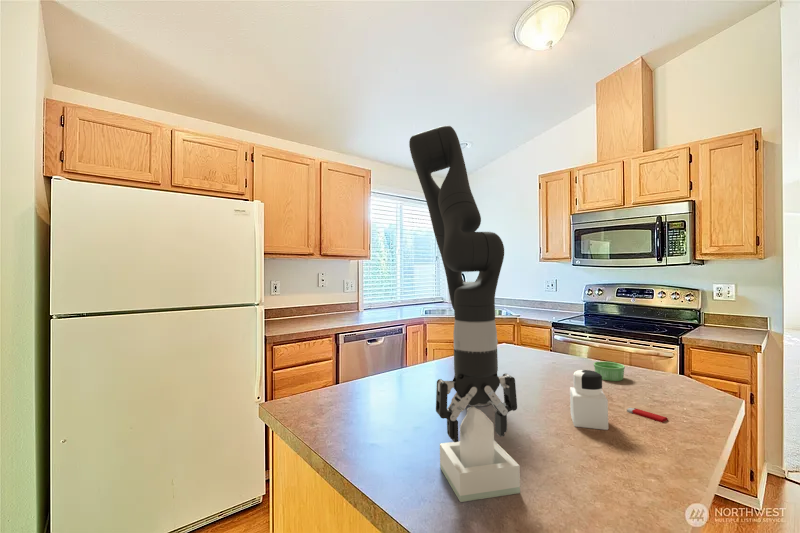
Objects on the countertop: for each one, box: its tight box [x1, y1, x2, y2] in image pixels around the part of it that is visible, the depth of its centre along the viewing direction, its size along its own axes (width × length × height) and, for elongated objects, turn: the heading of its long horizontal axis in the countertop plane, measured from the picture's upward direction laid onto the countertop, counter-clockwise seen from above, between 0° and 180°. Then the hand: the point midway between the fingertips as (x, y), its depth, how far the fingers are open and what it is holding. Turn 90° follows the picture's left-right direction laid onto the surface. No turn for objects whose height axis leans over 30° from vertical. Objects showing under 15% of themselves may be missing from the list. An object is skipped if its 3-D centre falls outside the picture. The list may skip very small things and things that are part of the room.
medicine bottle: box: [569, 369, 609, 431], centre depth 87 cm, size 7×7×12 cm
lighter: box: [626, 407, 668, 423], centre depth 90 cm, size 3×1×8 cm
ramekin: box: [593, 360, 625, 382], centre depth 122 cm, size 9×9×4 cm
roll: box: [459, 406, 495, 468], centre depth 65 cm, size 6×12×6 cm
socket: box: [439, 439, 521, 503], centre depth 65 cm, size 10×10×4 cm
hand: (477, 437), depth 65 cm, fingers open, 8 cm apart
